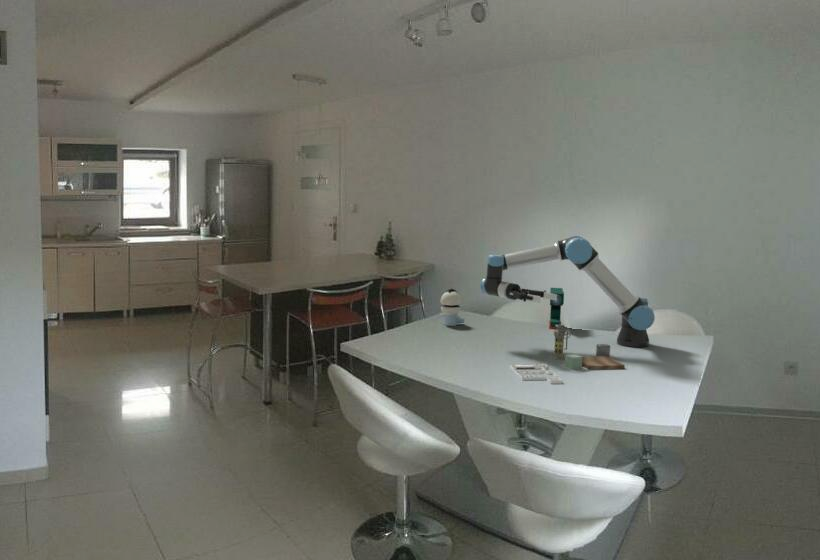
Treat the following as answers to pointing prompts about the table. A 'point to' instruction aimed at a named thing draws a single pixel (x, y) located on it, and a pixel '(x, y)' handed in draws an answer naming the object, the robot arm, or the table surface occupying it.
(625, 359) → the table surface
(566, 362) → the green block
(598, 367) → the walnut board
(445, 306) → the toy
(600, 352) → the grey rounded block
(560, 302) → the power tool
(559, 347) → the grenade
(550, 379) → the floor plan model
